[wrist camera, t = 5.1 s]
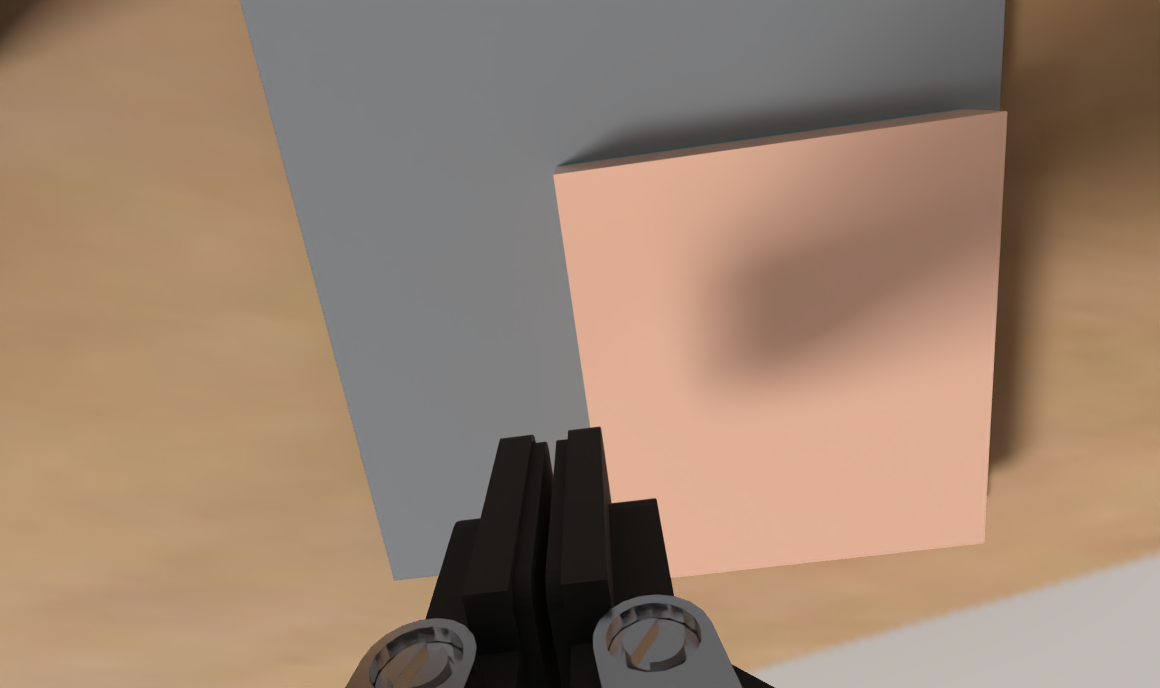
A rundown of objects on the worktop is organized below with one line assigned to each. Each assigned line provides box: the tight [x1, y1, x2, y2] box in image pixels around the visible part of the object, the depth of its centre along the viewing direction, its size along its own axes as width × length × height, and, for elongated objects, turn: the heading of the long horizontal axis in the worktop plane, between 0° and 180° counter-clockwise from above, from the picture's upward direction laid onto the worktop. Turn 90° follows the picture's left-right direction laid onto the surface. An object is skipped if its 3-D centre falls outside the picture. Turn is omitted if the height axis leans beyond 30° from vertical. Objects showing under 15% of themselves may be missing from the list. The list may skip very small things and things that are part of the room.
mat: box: [240, 0, 1005, 581], centre depth 16 cm, size 16×26×1 cm, turn 8°
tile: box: [553, 109, 1008, 578], centre depth 17 cm, size 2×10×9 cm
